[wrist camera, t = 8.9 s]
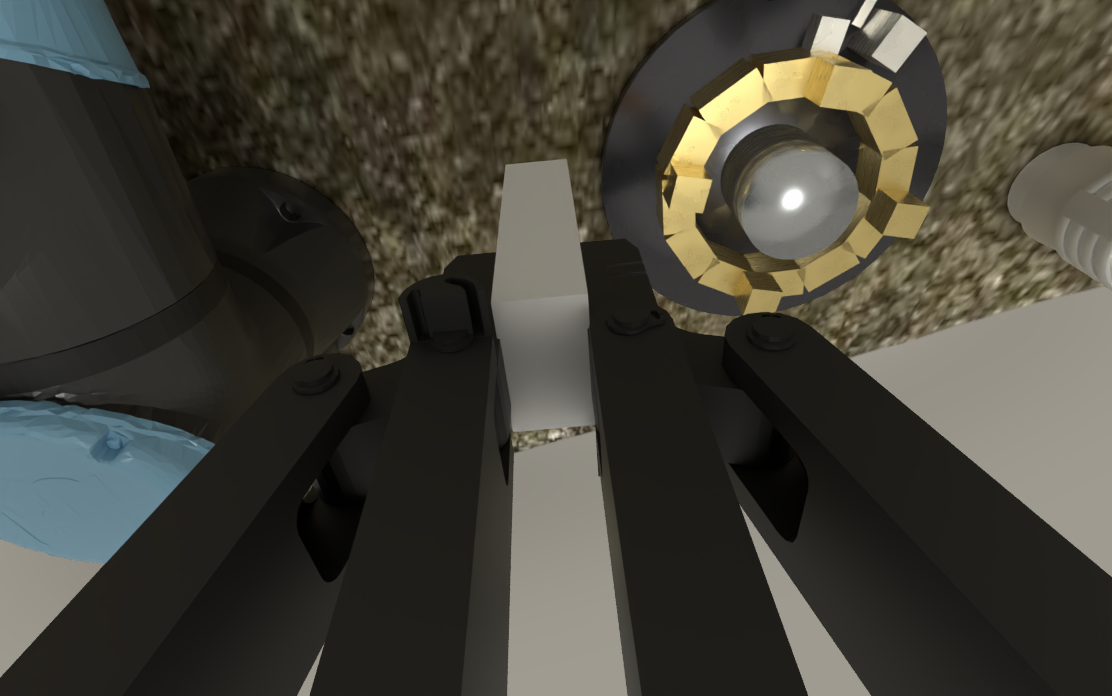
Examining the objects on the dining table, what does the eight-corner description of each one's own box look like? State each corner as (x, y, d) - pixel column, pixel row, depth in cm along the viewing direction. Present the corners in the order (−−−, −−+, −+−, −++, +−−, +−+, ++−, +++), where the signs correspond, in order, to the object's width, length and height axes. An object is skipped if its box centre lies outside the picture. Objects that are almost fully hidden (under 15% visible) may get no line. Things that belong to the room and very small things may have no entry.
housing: (620, 325, 47) (630, 383, 41) (577, 18, 35) (583, 37, 29) (904, 281, 45) (960, 335, 39) (968, -62, 33) (1064, -60, 27)
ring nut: (611, 155, 38) (619, 186, 33) (835, -12, 33) (880, -3, 28) (723, 312, 45) (743, 355, 40) (923, 195, 40) (971, 229, 35)
